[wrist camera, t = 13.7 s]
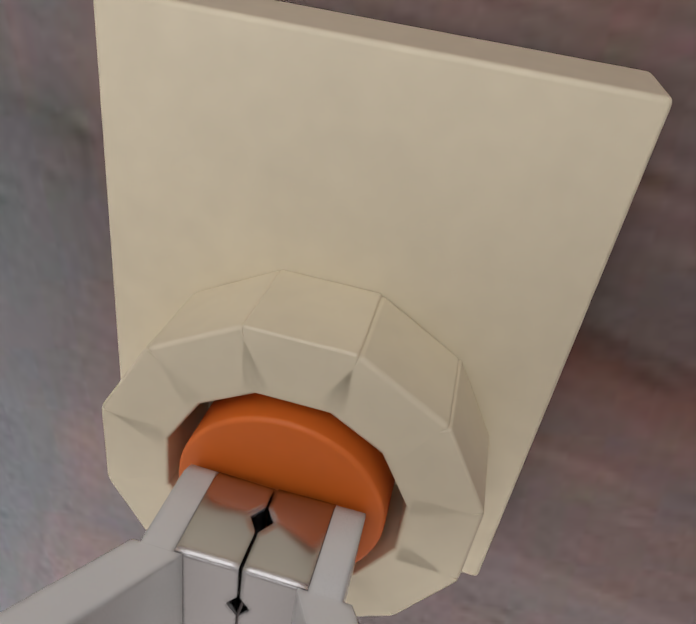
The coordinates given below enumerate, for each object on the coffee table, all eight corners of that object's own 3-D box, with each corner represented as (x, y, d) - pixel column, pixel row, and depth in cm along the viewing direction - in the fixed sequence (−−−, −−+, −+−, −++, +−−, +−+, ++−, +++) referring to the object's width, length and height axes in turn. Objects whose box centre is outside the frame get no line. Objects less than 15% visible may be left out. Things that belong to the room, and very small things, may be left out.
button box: (147, -25, 10) (1, -3, 7) (653, 71, 9) (712, 139, 6) (161, 433, 16) (81, 548, 13) (479, 523, 15) (468, 668, 12)
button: (220, 332, 11) (175, 393, 10) (419, 383, 11) (402, 455, 9) (215, 473, 13) (177, 541, 12) (383, 520, 13) (365, 597, 11)
